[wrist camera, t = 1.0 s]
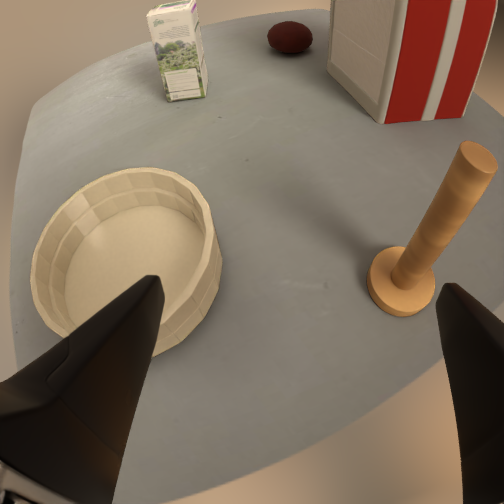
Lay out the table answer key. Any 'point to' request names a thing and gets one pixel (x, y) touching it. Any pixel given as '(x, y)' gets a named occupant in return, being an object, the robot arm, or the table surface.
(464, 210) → the tan wooden tall post
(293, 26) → the potato
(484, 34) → the red white rounded box
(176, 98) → the syrup box
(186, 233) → the bowl
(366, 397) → the table surface
